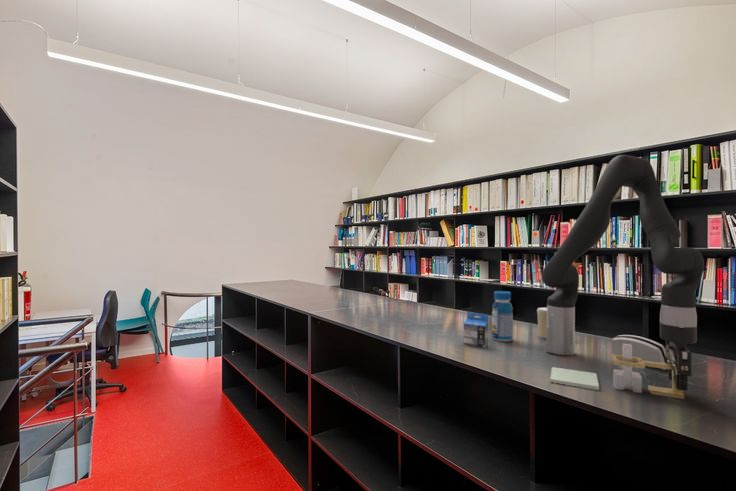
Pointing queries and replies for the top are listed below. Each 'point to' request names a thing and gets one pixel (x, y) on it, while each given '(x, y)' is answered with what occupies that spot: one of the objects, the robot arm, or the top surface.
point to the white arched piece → (640, 348)
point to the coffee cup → (542, 322)
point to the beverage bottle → (502, 316)
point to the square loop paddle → (641, 364)
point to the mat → (574, 378)
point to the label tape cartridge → (476, 329)
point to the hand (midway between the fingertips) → (677, 384)
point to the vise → (627, 374)
